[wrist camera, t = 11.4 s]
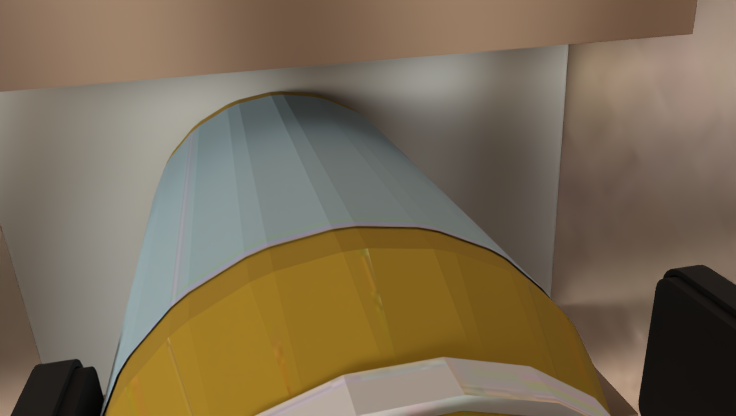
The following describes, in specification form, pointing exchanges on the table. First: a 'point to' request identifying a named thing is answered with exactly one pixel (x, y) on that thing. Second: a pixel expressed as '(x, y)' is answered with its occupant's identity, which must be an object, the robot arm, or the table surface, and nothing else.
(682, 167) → the table surface
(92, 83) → the u rest
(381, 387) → the bottle
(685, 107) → the table surface
